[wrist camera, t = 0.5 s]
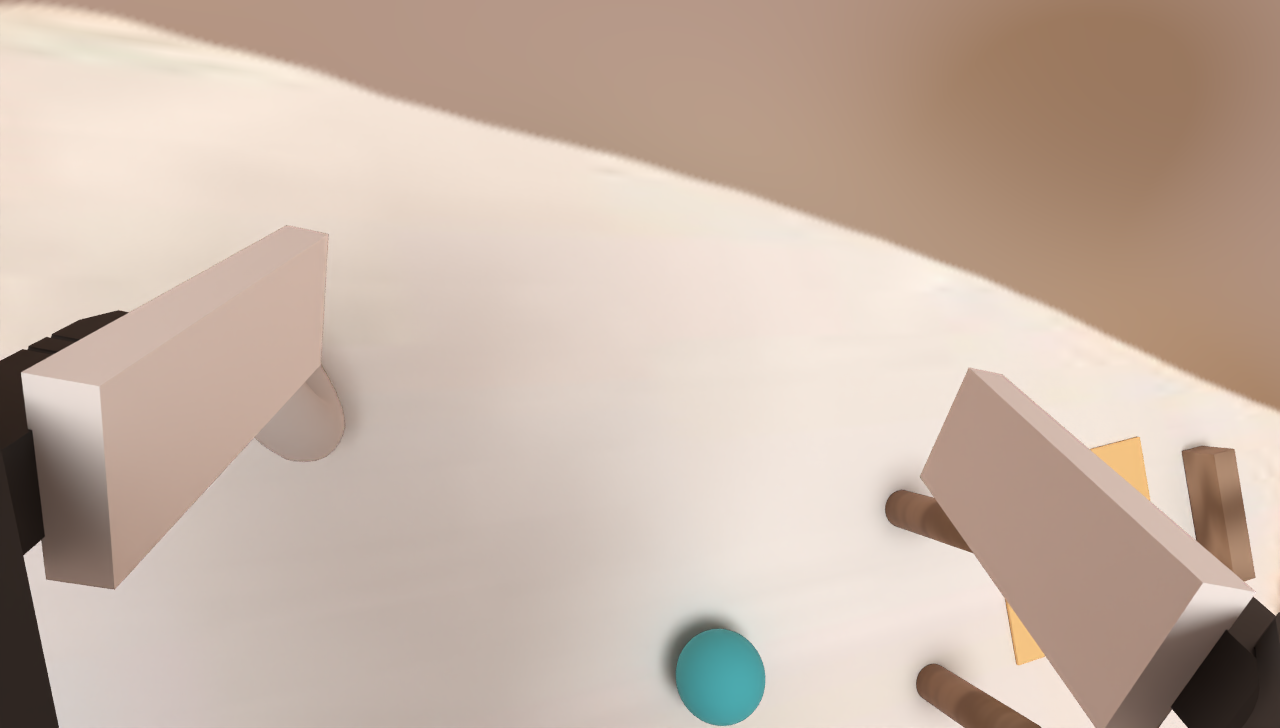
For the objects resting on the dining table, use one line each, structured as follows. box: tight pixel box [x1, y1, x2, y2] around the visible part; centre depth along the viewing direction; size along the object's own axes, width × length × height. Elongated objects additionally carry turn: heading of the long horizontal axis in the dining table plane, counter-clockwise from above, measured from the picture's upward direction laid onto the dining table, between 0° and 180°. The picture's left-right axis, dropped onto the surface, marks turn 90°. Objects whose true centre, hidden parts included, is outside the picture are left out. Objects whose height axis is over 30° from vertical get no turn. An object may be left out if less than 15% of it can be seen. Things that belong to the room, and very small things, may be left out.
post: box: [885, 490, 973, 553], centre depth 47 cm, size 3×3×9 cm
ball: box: [676, 629, 765, 726], centre depth 45 cm, size 6×6×6 cm
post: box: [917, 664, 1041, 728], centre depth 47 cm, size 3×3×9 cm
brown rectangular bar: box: [1182, 446, 1255, 581], centre depth 56 cm, size 10×2×2 cm, turn 11°
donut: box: [254, 365, 345, 462], centre depth 37 cm, size 10×4×10 cm, turn 31°
